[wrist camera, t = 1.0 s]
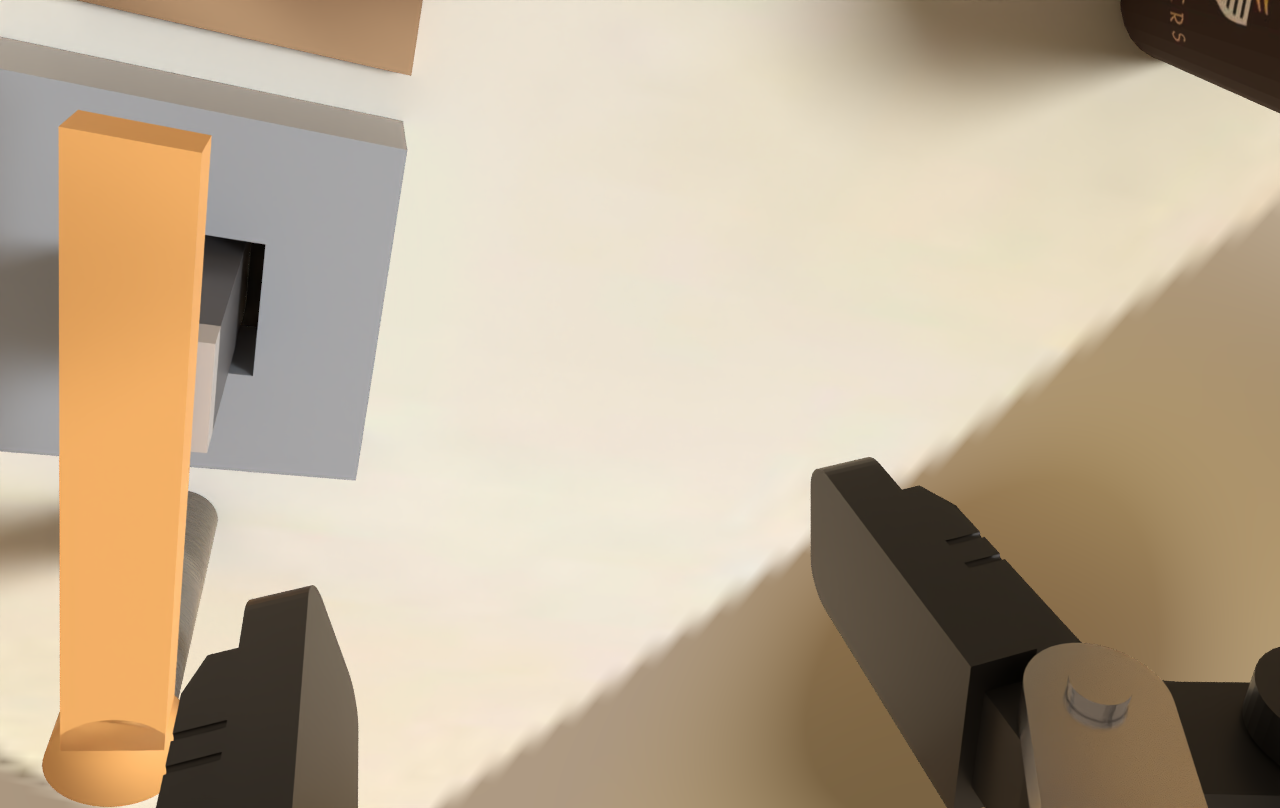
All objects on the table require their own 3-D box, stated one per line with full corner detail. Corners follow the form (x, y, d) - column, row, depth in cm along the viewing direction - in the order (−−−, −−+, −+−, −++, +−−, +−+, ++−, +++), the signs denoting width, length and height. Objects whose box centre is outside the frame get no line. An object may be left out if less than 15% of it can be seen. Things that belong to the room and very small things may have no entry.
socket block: (-13, 33, 25) (-62, 56, 23) (402, 121, 29) (407, 150, 26) (-1, 391, 30) (-41, 448, 27) (356, 426, 34) (355, 480, 31)
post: (145, 487, 33) (76, 684, 25) (219, 493, 34) (176, 685, 26) (142, 543, 34) (75, 749, 26) (215, 547, 35) (171, 748, 27)
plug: (146, 203, 29) (68, 326, 21) (253, 221, 30) (215, 343, 22) (143, 294, 30) (68, 441, 22) (245, 308, 31) (206, 453, 23)
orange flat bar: (185, 763, 27) (177, 804, 26) (57, 765, 26) (42, 808, 25) (232, 139, 19) (224, 157, 18) (54, 105, 18) (33, 121, 17)
